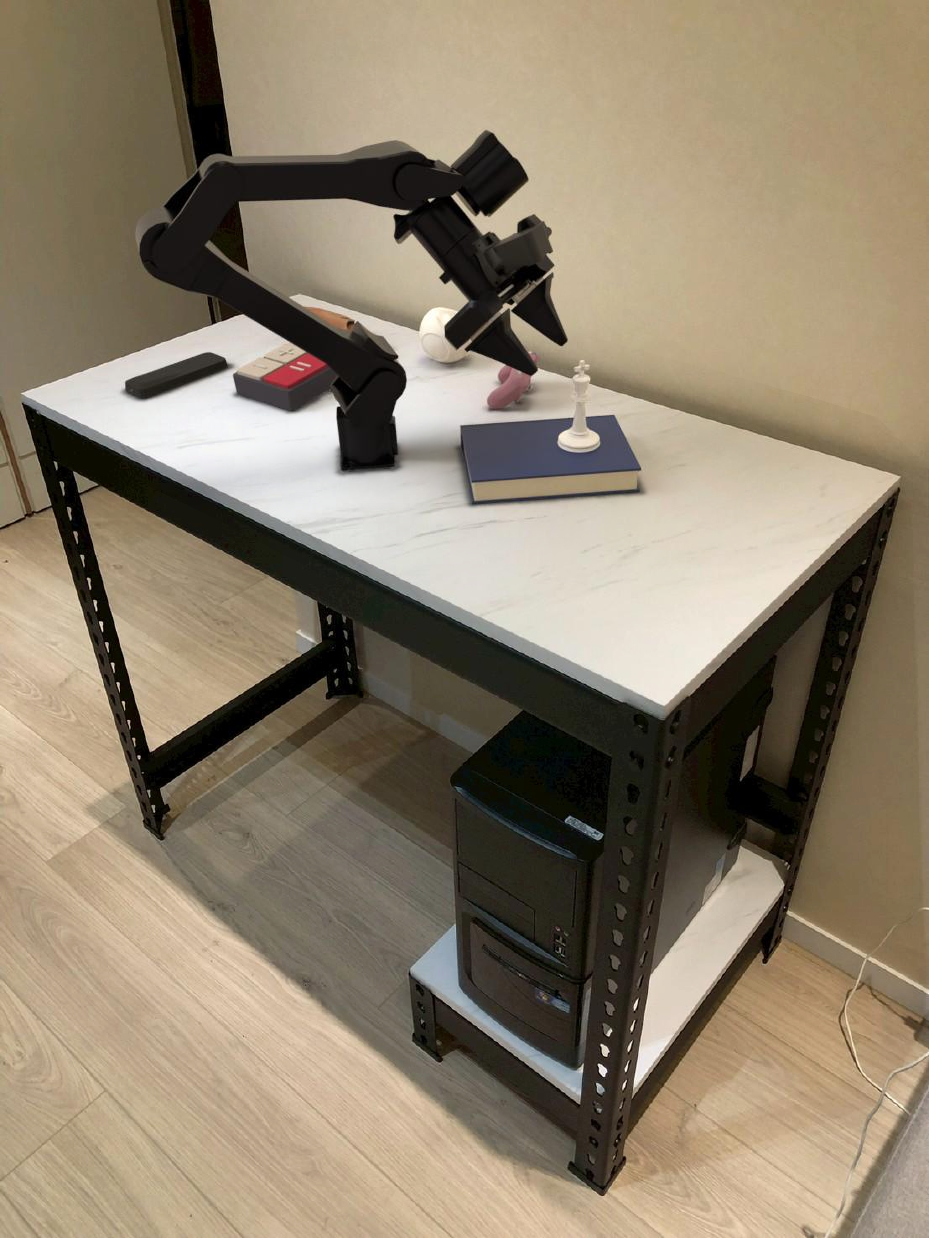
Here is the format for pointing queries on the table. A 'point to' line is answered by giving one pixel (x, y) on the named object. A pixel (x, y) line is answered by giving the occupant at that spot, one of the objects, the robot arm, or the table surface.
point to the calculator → (284, 378)
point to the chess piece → (579, 417)
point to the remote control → (175, 374)
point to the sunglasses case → (334, 318)
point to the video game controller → (510, 386)
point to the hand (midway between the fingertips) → (550, 358)
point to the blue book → (545, 461)
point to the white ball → (439, 336)
